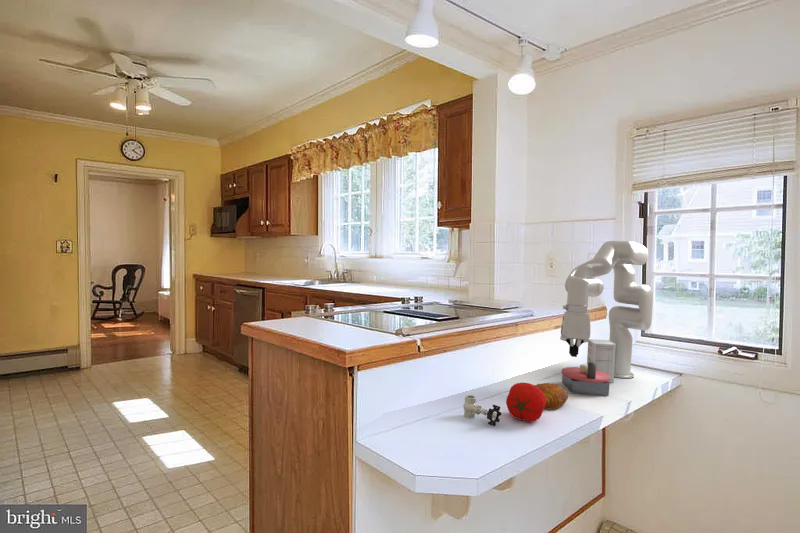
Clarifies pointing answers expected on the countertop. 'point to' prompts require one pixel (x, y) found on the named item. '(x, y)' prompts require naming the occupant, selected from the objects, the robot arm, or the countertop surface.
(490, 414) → the valve
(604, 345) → the supplement box
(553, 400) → the croissant
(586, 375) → the handwheel
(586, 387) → the housing
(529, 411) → the tomato
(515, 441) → the countertop surface
